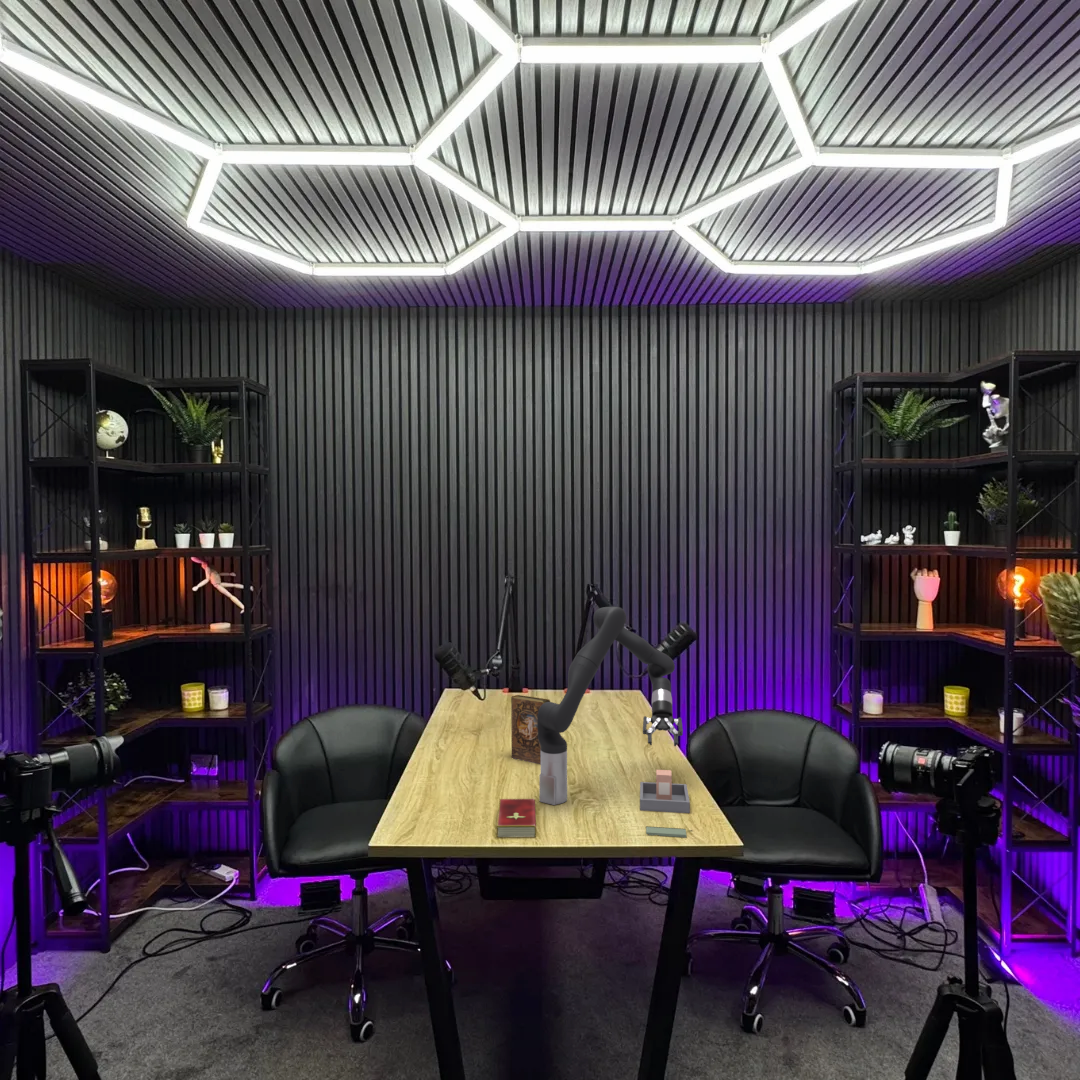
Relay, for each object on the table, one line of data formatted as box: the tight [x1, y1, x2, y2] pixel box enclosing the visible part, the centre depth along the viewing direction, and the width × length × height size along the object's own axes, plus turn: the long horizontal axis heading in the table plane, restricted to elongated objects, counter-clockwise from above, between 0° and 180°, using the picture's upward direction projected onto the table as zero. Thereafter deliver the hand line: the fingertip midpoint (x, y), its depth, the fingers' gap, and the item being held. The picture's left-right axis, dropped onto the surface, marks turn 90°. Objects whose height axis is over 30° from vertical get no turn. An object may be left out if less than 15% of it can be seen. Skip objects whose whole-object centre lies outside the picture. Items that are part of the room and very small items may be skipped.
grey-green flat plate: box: [645, 826, 687, 839], centre depth 209 cm, size 12×12×1 cm
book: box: [510, 694, 551, 765], centre depth 273 cm, size 16×6×25 cm, turn 59°
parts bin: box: [639, 781, 691, 814], centre depth 227 cm, size 16×16×4 cm
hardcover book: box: [496, 798, 537, 838], centre depth 213 cm, size 12×21×4 cm, turn 1°
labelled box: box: [655, 769, 673, 800], centre depth 227 cm, size 5×5×10 cm
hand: (663, 744), depth 238 cm, fingers open, 8 cm apart
